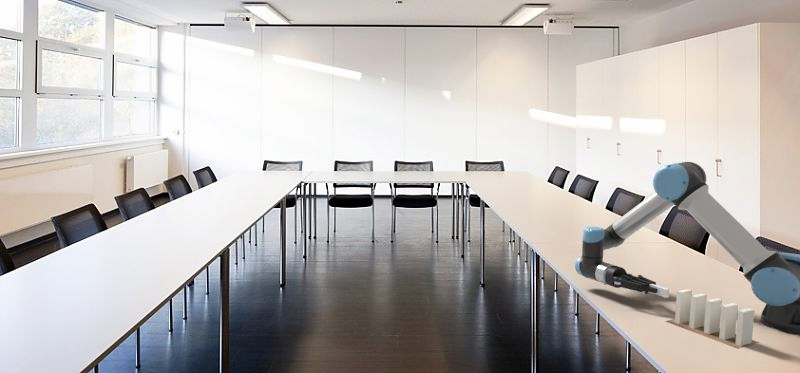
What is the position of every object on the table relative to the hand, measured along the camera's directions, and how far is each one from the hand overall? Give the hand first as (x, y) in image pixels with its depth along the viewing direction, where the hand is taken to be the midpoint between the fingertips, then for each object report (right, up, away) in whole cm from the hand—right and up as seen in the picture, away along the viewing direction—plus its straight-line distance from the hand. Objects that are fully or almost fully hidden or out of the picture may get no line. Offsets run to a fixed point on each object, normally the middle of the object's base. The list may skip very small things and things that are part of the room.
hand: (667, 293), depth 191 cm
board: (+7, -10, -13) cm, 18 cm away
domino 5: (+12, -10, -22) cm, 27 cm away
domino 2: (+5, -9, -9) cm, 14 cm away
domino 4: (+10, -10, -18) cm, 23 cm away
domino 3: (+7, -9, -13) cm, 18 cm away
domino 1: (+3, -8, -5) cm, 10 cm away
